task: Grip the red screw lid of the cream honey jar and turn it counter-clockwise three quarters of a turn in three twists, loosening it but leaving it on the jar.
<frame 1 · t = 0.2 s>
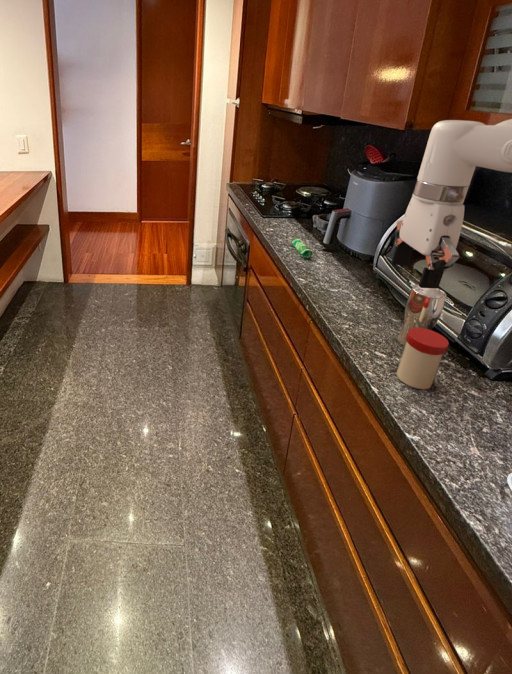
hand: (412, 275, 77), 25 cm above the worktop, tool pointing down, fingers open, 9 cm apart
jar: (413, 378, 85), on the worktop
red lid: (427, 338, 81), point 11 cm above the worktop, screwed on, not yet turned
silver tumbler: (411, 343, 97), on the worktop
candy: (300, 252, 149), on the worktop
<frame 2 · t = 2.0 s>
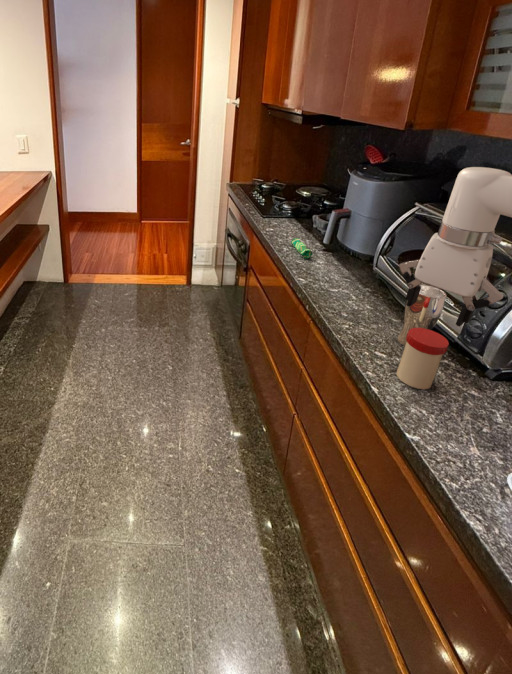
hand: (434, 313, 79), 17 cm above the worktop, tool pointing down, fingers open, 8 cm apart
nothing on the worktop moved.
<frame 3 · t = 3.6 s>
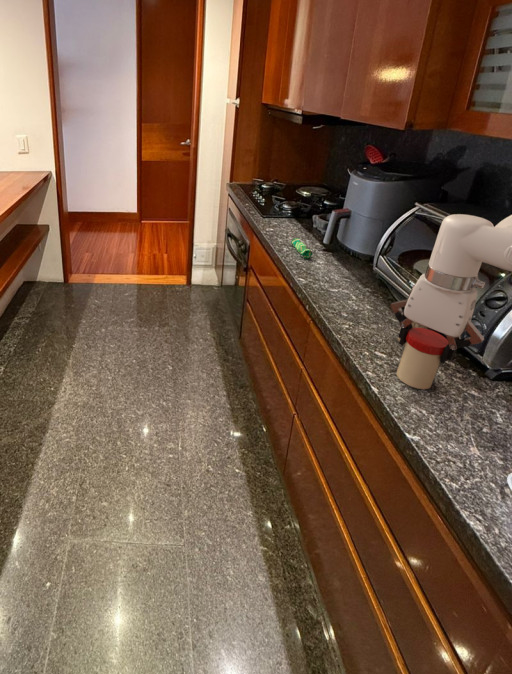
hand: (423, 350, 82), 8 cm above the worktop, tool pointing down, fingers closed on red lid, 6 cm apart
red lid: (427, 338, 81), point 11 cm above the worktop, screwed on, not yet turned, touching gripper
everything else where it was.
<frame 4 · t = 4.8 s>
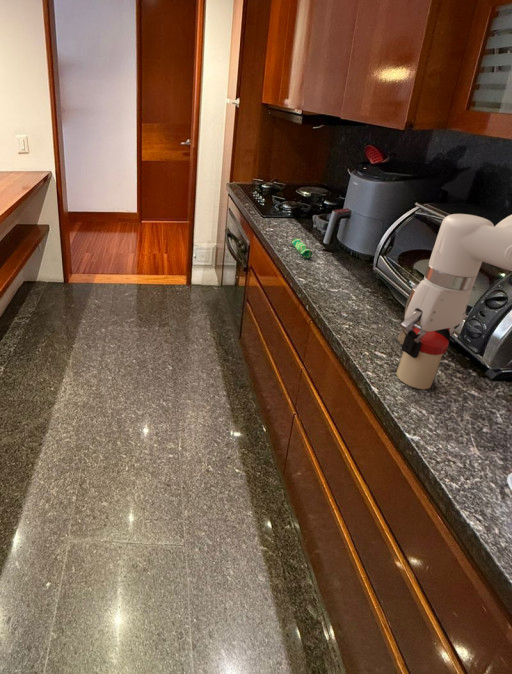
hand: (423, 350, 82), 8 cm above the worktop, tool pointing down, fingers closed on red lid, 6 cm apart
red lid: (427, 338, 81), point 11 cm above the worktop, turned 70° so far, risen 0.1 cm, still on its thread, touching gripper
everything else where it was.
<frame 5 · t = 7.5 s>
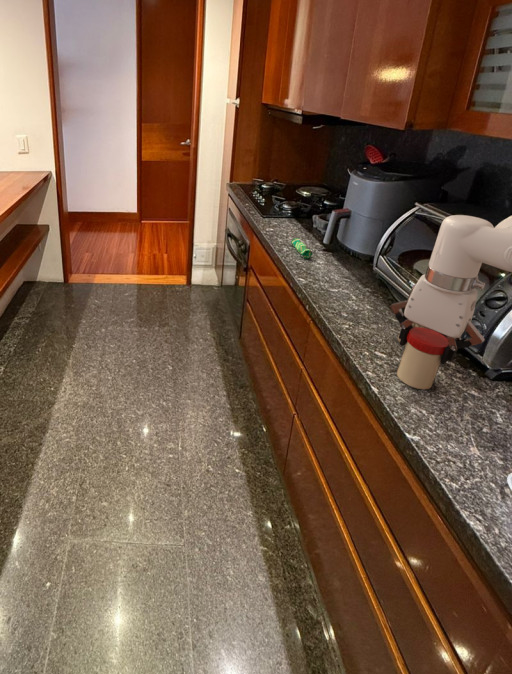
hand: (423, 351, 82), 7 cm above the worktop, tool pointing down, fingers closed on red lid, 6 cm apart
red lid: (428, 338, 81), point 11 cm above the worktop, turned 90° so far, risen 0.1 cm, still on its thread, touching gripper
everything else where it was.
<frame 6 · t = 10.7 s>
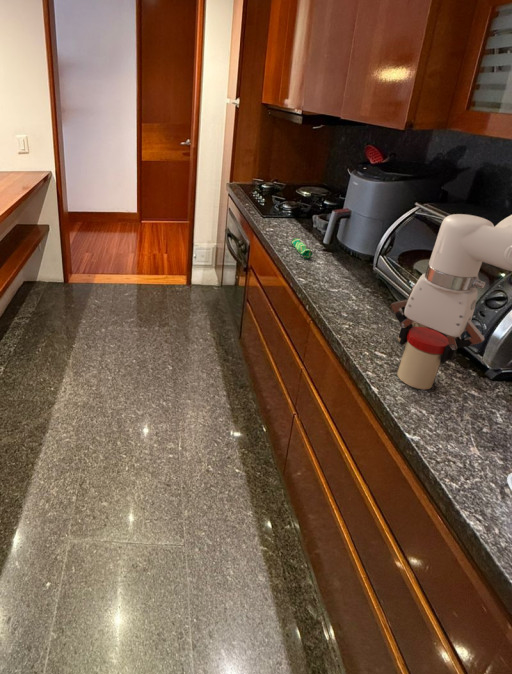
hand: (423, 350, 82), 8 cm above the worktop, tool pointing down, fingers closed on red lid, 6 cm apart
red lid: (428, 337, 81), point 11 cm above the worktop, turned 177° so far, risen 0.2 cm, still on its thread, touching gripper
everything else where it was.
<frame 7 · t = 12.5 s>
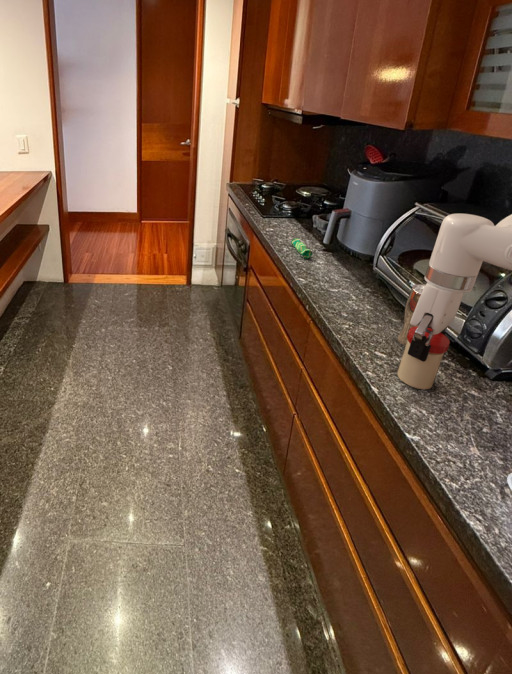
hand: (424, 350, 82), 8 cm above the worktop, tool pointing down, fingers closed on red lid, 6 cm apart
red lid: (428, 337, 81), point 11 cm above the worktop, turned 265° so far, risen 0.4 cm, still on its thread, touching gripper
everything else where it was.
when the fingers open (8 cm above the worktop, at t = 12.7 s): red lid stays where it is, point 11 cm above the worktop.
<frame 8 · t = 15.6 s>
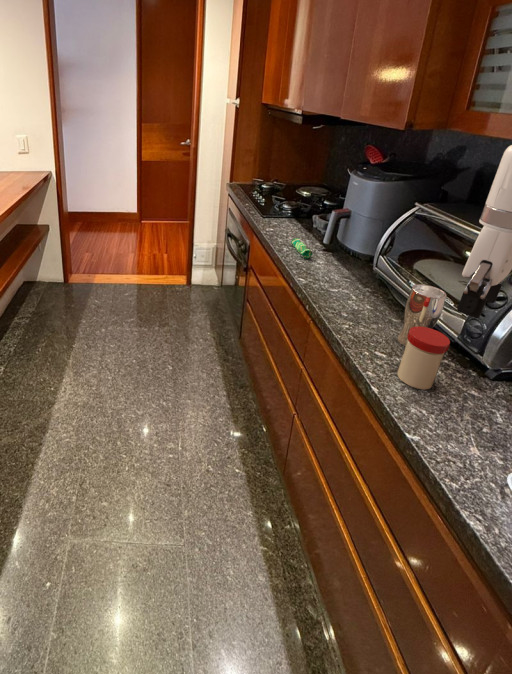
hand: (475, 306, 72), 22 cm above the worktop, tool pointing down, fingers open, 8 cm apart
red lid: (428, 337, 81), point 11 cm above the worktop, turned 265° so far, risen 0.4 cm, still on its thread
everything else where it was.
at the end: red lid turned 0.74 turns (still on its thread); red lid is still on its thread (0.74 turns); jar tilted 0° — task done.
